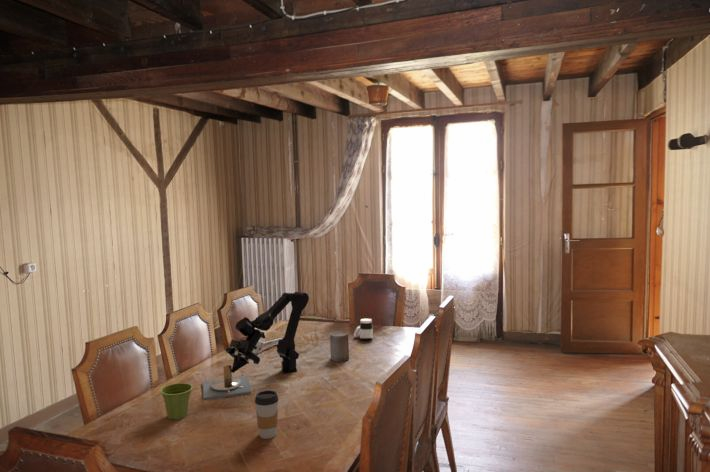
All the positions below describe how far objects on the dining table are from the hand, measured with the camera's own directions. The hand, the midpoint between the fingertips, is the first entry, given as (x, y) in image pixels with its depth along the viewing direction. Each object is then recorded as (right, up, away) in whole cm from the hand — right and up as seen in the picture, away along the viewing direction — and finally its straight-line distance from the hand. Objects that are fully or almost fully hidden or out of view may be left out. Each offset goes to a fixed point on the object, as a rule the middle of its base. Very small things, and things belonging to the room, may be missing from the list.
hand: (232, 372), depth 214 cm
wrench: (+5, -4, +60) cm, 61 cm away
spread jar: (+59, -2, +77) cm, 97 cm away
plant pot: (-16, -11, -22) cm, 30 cm away
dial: (-4, -7, +5) cm, 9 cm away
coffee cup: (+23, -12, -39) cm, 47 cm away
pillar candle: (+46, -5, +41) cm, 62 cm away
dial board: (-4, -8, +5) cm, 10 cm away
